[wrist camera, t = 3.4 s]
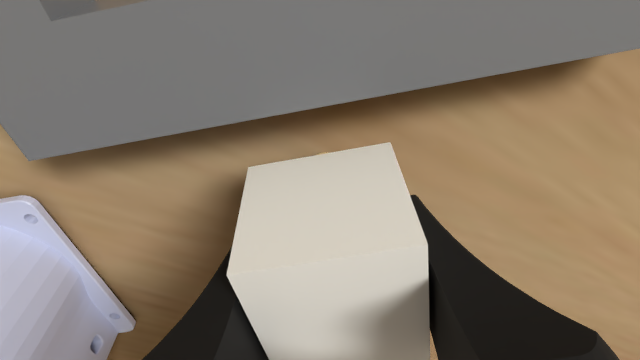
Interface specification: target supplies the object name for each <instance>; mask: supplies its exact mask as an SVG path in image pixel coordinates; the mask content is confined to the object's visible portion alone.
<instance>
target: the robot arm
mask: <svg viewBox="0 0 640 360" xmlns="http://www.w3.org/2000/svg"><path fill="white" fill-rule="evenodd" d="M410 197H411V200H412V202H413V205H414V208H415V210H416V213H417V216H418V219H419V221H420V224H421V227H422V230H423V232H424V235H425V238H426V240H427V243H428V274H429V324H430V331H431V334H432V337H433V341H434V345H435V349H436V352H437V356H438V360H619V359H618V357H617V356H616V354H615V353H614V352H613V351H612V350H611V348H610V347H609V346H608V345H607V344H606V342H605V341H604V340H603V339H602V338H601V337H600V336H599V334H598V333H597V332H596V331H594V330H592V329H590V328H588V327H586V326H584V325H582V324H580V323H578V322H576V321H574V320H572V319H570V318H568V317H565V316H563V315H561V314H560V313H558V312H556V311H554V310H552V309H551V308H549V307H547V306H545V305H544V304H542V303H540V302H538V301H537V300H535V299H534V298H532V297H530V296H529V295H527V294H526V293H524V292H523V291H521V290H520V289H518V288H516V287H515V286H513V285H512V284H510V283H509V282H507V281H506V280H505V279H503V278H502V277H500V276H499V275H498V274H496V273H495V272H494V271H492V270H491V269H490V268H488V267H487V266H486V265H484V264H483V263H482V262H481V261H480V260H478V259H477V258H476V257H475V256H474V255H472V254H471V253H470V252H469V251H468V250H467V249H466V248H465V247H463V246H462V245H461V244H460V243H459V242H458V241H457V240H456V239H455V238H454V237H453V236H452V235H451V234H450V233H449V232H448V231H447V230H446V229H445V228H444V227H443V226H442V225H441V224H440V223H439V222H438V221H437V220H436V218H435V217H434V216H433V215H432V214H431V213H430V212H429V210H428V209H427V208H426V207H425V206H424V204H423V203H422V202H421V200H420V199H419V198H418V197H417V196H416V195H410ZM231 250H232V247H231V249H230V250H229V252H228V254H227V255H226V257H225V259H224V260H223V262H222V264H221V265H220V267H219V268H218V270H217V272H216V273H215V275H214V276H213V278H212V279H211V280H210V282H209V283H208V285H207V286H206V288H205V289H204V291H203V292H202V294H201V295H200V296H199V298H198V299H197V300H196V302H195V303H194V304H193V305H192V307H191V308H190V309H189V310H188V312H187V313H186V314H185V315H184V316H183V318H182V319H181V320H180V321H179V322H178V323H177V324H176V326H175V327H174V328H173V329H172V330H171V331H170V332H169V333H168V334H167V335H166V336H165V337H164V339H163V340H162V341H161V342H160V343H159V344H158V345H157V346H156V347H155V348H154V349H153V350H152V351H151V352H150V353H149V354H148V355H146V356H145V357H144V358H143V359H142V360H269V359H268V357H267V355H266V353H265V351H264V349H263V347H262V345H261V343H260V341H259V339H258V337H257V335H256V333H255V331H254V329H253V327H252V325H251V323H250V321H249V319H248V317H247V315H246V313H245V311H244V309H243V307H242V305H241V303H240V301H239V299H238V297H237V295H236V293H235V291H234V289H233V287H232V285H231V283H230V281H229V279H228V277H227V276H226V275H227V270H228V265H229V260H230V255H231ZM135 324H136V321H135V319H134V318H133V317H132V316H131V315H130V313H129V312H128V311H127V310H126V308H125V307H124V306H123V305H122V303H121V302H120V301H119V300H118V299H117V297H116V296H115V295H114V294H113V292H112V291H111V290H110V289H109V287H108V286H107V285H106V284H105V283H104V281H103V280H102V279H101V278H100V276H99V275H98V274H97V273H96V272H95V270H94V269H93V268H92V267H91V265H90V264H89V263H88V262H87V260H86V259H85V258H84V257H83V256H82V254H81V253H80V252H79V251H78V249H77V248H76V247H75V246H74V245H73V243H72V242H71V241H70V240H69V238H68V237H67V236H66V235H65V233H64V232H63V231H62V230H61V229H60V227H59V226H58V225H57V224H56V222H55V221H54V220H53V219H52V217H51V216H50V215H49V214H48V213H47V211H46V210H45V209H44V208H43V206H42V205H41V204H40V203H39V202H38V201H37V200H36V199H35V198H33V197H30V196H26V195H20V196H15V197H9V198H3V199H0V360H107V358H108V355H109V353H110V351H111V348H112V346H113V344H114V341H115V339H116V337H117V334H118V333H122V332H129V331H132V330H133V329H134V327H135Z"/></svg>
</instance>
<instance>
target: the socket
mask: <svg viewBox="0 0 640 360" xmlns="http://www.w3.org/2000/svg"><path fill="white" fill-rule="evenodd" d="M639 48H640V0H0V124H1V125H2V127H3V128H4V129H5V131H6V132H7V133H8V134H9V136H10V137H11V138H12V140H13V141H14V142H15V144H16V145H17V146H18V147H19V149H20V150H21V151H22V153H23V154H24V155H25V157H26V158H27V159H28V160H29V161H32V160H37V159H43V158H48V157H53V156H59V155H64V154H70V153H75V152H81V151H86V150H91V149H97V148H102V147H108V146H113V145H119V144H124V143H129V142H135V141H140V140H146V139H151V138H156V137H162V136H167V135H173V134H178V133H184V132H189V131H194V130H200V129H205V128H211V127H216V126H221V125H227V124H232V123H238V122H243V121H249V120H254V119H259V118H265V117H270V116H276V115H281V114H287V113H292V112H297V111H303V110H308V109H314V108H319V107H324V106H330V105H335V104H341V103H346V102H352V101H357V100H362V99H368V98H373V97H379V96H384V95H389V94H395V93H400V92H406V91H411V90H417V89H422V88H427V87H433V86H438V85H444V84H449V83H454V82H460V81H465V80H471V79H476V78H482V77H487V76H492V75H498V74H503V73H509V72H514V71H520V70H525V69H530V68H536V67H541V66H547V65H552V64H557V63H563V62H568V61H574V60H579V59H585V58H590V57H595V56H601V55H606V54H612V53H617V52H622V51H628V50H633V49H639Z"/></svg>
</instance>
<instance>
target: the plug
mask: <svg viewBox="0 0 640 360" xmlns="http://www.w3.org/2000/svg"><path fill="white" fill-rule="evenodd" d="M226 276H227V277H228V279H229V281H230V283H231V285H232V287H233V289H234V291H235V293H236V295H237V297H238V299H239V301H240V303H241V305H242V307H243V309H244V311H245V313H246V315H247V317H248V319H249V321H250V323H251V325H252V327H253V329H254V331H255V333H256V335H257V337H258V339H259V341H260V343H261V345H262V347H263V349H264V351H265V353H266V355H267V357H268V359H269V360H430V324H429V274H428V243H427V240H426V238H425V235H424V232H423V230H422V227H421V224H420V221H419V219H418V216H417V213H416V210H415V208H414V205H413V202H412V200H411V197H410V194H409V191H408V189H407V186H406V183H405V181H404V178H403V175H402V172H401V170H400V167H399V164H398V162H397V159H396V156H395V153H394V151H393V148H392V145H391V143H390V142H389V143H383V144H377V145H372V146H366V147H360V148H355V149H349V150H343V151H338V152H332V153H327V152H324V153H318V154H317V155H315V156H309V157H303V158H298V159H292V160H286V161H281V162H275V163H269V164H264V165H258V166H252V167H248V171H247V176H246V181H245V186H244V191H243V196H242V201H241V206H240V211H239V216H238V221H237V225H236V230H235V235H234V240H233V245H232V250H231V255H230V260H229V265H228V270H227V275H226Z"/></svg>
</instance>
